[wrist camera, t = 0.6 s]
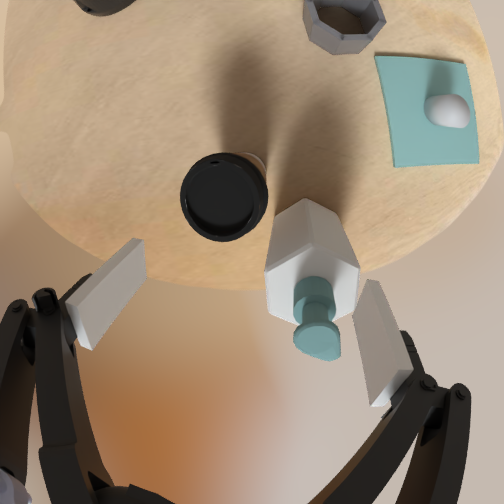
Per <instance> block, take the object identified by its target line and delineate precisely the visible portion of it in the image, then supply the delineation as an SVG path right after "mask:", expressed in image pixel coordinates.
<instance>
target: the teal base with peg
mask: <svg viewBox="0 0 504 504" xmlns="http://www.w3.org/2000/svg"><path fill="white" fill-rule="evenodd" d="M374 59H375V62H376V66H377V70H378V74H379V79H380V83H381V88H382V92H383V97H384V102H385V108H386V113H387V119H388V125H389V132H390V139H391V147H392V156H393V166H394V167H395V168H398V167H411V166H426V165H445V164H479V148H478V134H477V124H476V116H475V109H474V102H473V96H472V91H471V85H470V81H469V76H468V72H467V67H466V64H461V63H455V62H449V61H442V60H434V59H425V58H414V57H396V56H375V57H374Z"/></svg>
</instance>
